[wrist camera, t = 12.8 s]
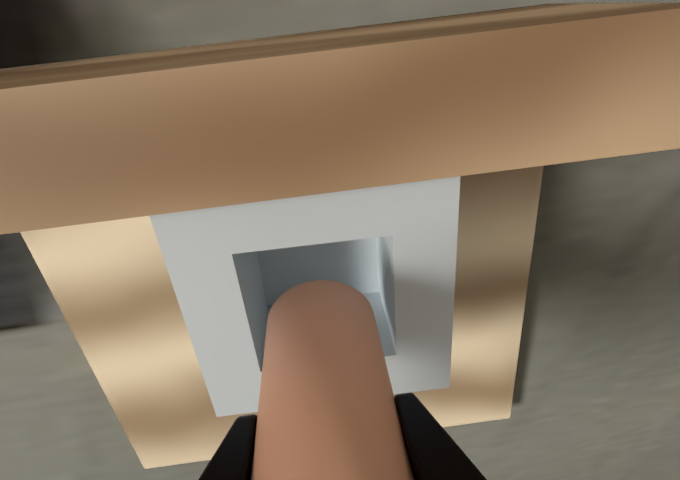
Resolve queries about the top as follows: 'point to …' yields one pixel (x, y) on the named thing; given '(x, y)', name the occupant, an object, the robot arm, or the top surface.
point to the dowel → (326, 391)
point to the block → (317, 277)
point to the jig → (318, 172)
